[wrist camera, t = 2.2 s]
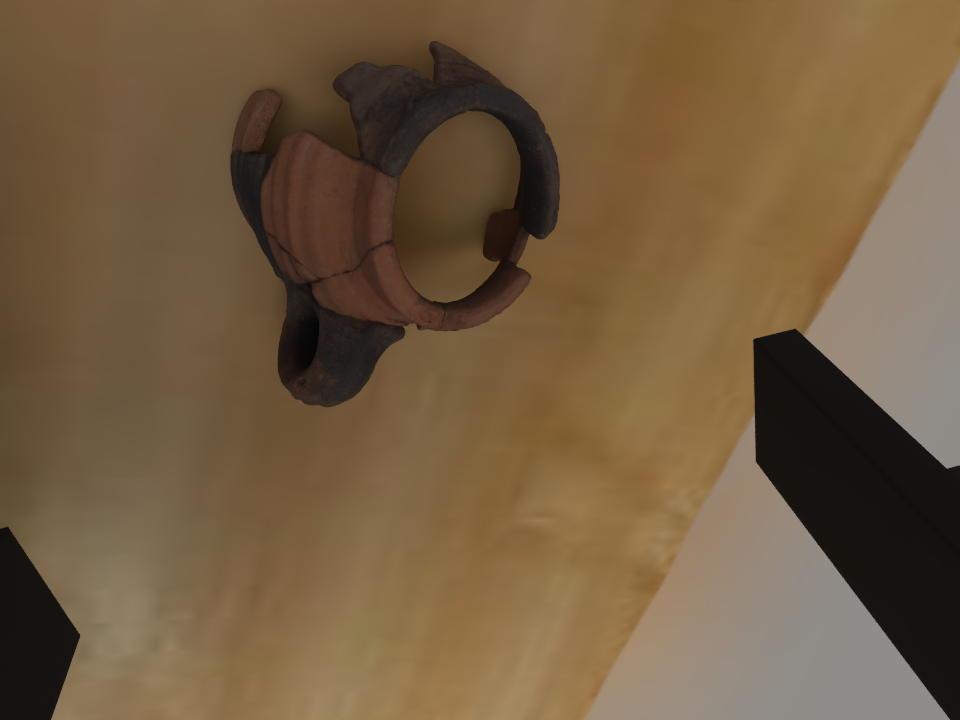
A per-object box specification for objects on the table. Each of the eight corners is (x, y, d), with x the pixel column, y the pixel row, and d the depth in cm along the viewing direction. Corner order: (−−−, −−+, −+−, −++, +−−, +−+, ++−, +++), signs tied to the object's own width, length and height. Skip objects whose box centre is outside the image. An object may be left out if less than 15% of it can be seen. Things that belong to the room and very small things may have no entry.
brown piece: (246, -15, 25) (395, -8, 19) (465, 89, 32) (624, 117, 26) (152, 347, 27) (262, 449, 21) (376, 374, 34) (505, 458, 28)
